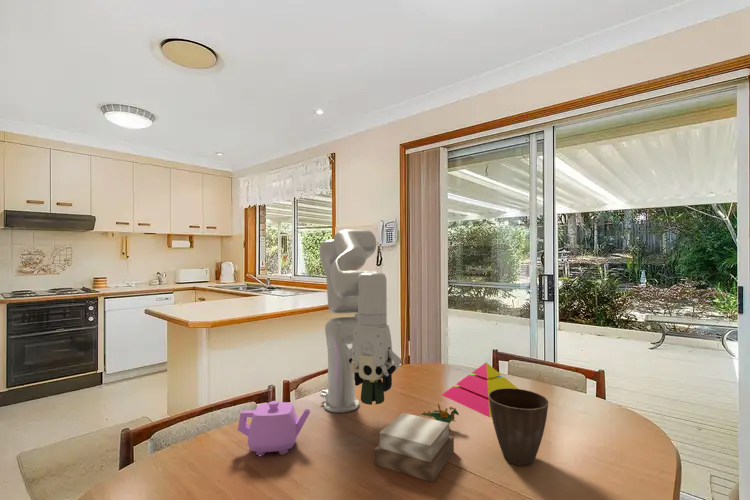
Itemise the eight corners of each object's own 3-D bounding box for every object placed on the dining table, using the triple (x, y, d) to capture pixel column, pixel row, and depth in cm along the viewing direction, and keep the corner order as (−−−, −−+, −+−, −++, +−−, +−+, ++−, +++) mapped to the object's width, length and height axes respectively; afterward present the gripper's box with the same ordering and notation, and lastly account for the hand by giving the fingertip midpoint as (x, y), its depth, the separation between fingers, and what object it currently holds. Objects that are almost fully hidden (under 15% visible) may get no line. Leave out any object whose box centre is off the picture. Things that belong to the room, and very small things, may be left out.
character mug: (352, 409, 94) (351, 357, 94) (351, 398, 101) (350, 349, 102) (395, 406, 96) (394, 355, 96) (391, 395, 103) (390, 348, 103)
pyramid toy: (537, 404, 137) (536, 365, 138) (489, 420, 124) (489, 377, 124) (484, 384, 159) (483, 350, 159) (439, 396, 146) (438, 359, 146)
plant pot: (482, 443, 108) (482, 387, 108) (535, 444, 107) (535, 387, 107) (498, 474, 93) (497, 409, 93) (559, 475, 92) (558, 409, 93)
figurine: (460, 430, 116) (460, 404, 116) (421, 431, 115) (421, 404, 115) (457, 426, 119) (457, 400, 119) (419, 427, 118) (419, 401, 119)
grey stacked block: (374, 464, 98) (374, 433, 98) (401, 437, 111) (401, 410, 112) (432, 482, 90) (432, 448, 90) (453, 451, 104) (453, 422, 104)
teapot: (232, 461, 99) (232, 413, 99) (243, 438, 112) (243, 395, 112) (309, 456, 102) (309, 409, 102) (312, 434, 114) (311, 392, 114)
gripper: (337, 319, 100) (337, 385, 100) (394, 325, 91) (395, 398, 91) (353, 315, 106) (353, 377, 106) (408, 320, 97) (409, 388, 97)
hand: (372, 386), depth 99 cm, fingers closed on character mug, 7 cm apart
